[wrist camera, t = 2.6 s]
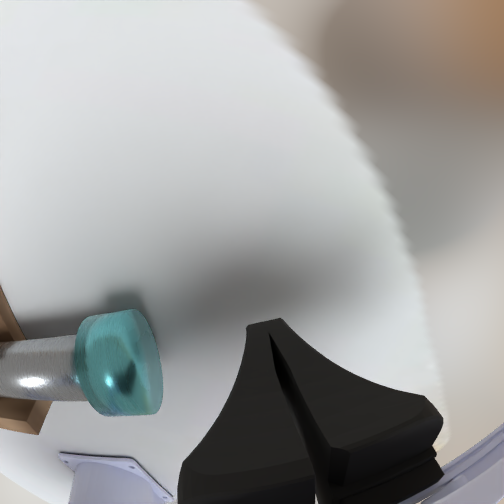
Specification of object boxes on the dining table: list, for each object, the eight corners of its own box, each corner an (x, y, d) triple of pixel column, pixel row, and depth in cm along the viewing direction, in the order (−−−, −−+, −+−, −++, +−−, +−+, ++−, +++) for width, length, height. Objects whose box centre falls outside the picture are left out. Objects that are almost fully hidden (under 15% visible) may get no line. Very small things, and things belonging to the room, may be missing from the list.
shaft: (136, 289, 12) (109, 354, 8) (166, 365, 14) (158, 435, 9) (-42, 321, 11) (-76, 358, 7) (-12, 374, 13) (-37, 415, 8)
